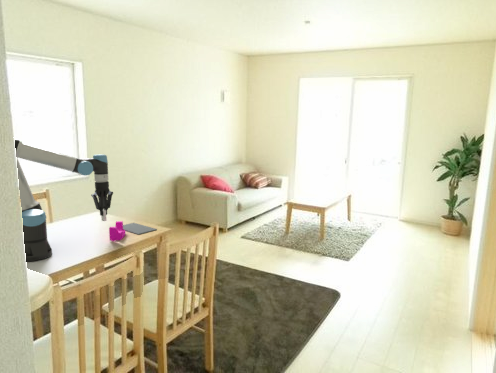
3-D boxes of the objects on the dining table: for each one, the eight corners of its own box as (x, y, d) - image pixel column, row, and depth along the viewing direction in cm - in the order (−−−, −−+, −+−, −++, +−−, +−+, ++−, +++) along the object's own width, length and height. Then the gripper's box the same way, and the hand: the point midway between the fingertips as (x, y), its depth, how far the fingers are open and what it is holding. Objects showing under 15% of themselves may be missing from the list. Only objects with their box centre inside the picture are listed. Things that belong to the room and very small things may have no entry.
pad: (138, 234, 221) (138, 233, 221) (115, 227, 236) (115, 226, 236) (156, 230, 232) (156, 229, 232) (133, 223, 247) (133, 222, 247)
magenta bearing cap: (120, 240, 210) (120, 227, 209) (109, 240, 210) (109, 227, 209) (127, 233, 225) (127, 221, 224) (117, 233, 225) (116, 221, 224)
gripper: (94, 183, 204) (97, 224, 208) (115, 180, 214) (117, 219, 218) (87, 181, 208) (90, 221, 212) (108, 179, 219) (110, 217, 222)
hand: (104, 220), depth 215 cm, fingers closed
